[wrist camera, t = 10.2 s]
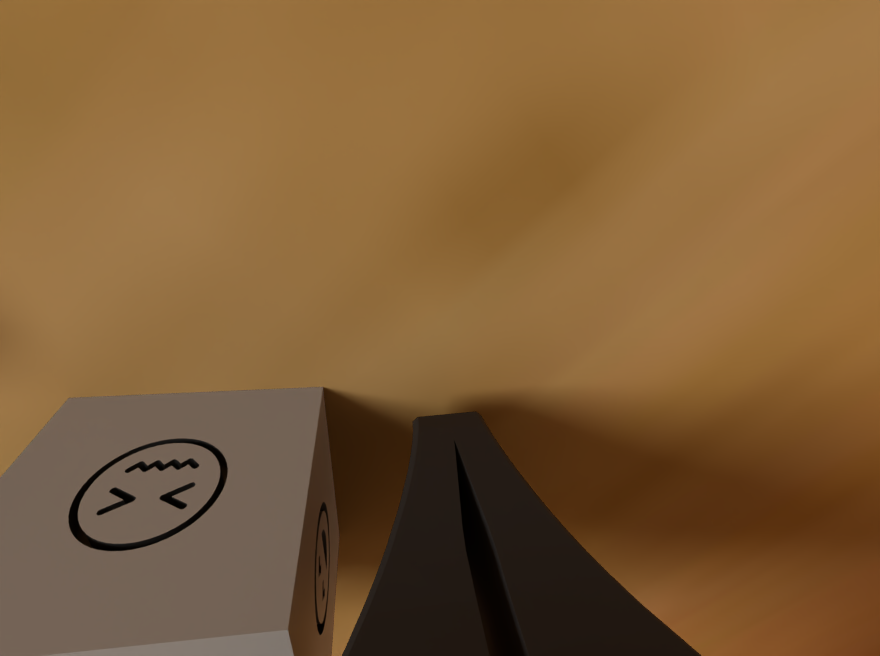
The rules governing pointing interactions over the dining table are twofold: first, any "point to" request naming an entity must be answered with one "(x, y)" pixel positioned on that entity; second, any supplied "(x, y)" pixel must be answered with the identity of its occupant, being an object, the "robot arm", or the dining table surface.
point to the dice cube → (172, 528)
